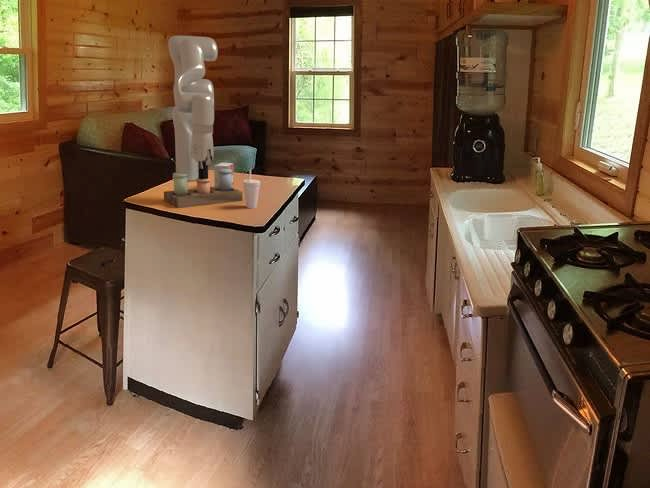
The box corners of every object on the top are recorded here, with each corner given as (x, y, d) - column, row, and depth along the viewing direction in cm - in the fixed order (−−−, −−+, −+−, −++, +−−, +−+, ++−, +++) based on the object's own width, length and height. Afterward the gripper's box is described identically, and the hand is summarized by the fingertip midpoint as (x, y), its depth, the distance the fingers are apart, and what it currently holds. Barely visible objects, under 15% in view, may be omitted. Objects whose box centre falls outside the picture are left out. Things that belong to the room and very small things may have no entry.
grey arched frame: (227, 192, 251) (227, 166, 248) (214, 191, 252) (214, 165, 249) (234, 188, 259) (234, 163, 256) (221, 187, 260) (221, 162, 257)
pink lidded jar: (193, 198, 236) (193, 178, 234) (206, 197, 239) (206, 176, 237) (200, 201, 232) (199, 180, 229) (213, 199, 235) (213, 179, 233)
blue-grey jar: (215, 189, 240) (215, 169, 238) (227, 188, 243) (227, 168, 241) (221, 192, 236) (221, 171, 234) (234, 190, 239) (234, 170, 237)
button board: (164, 200, 233) (163, 191, 232) (226, 193, 248) (226, 185, 247) (178, 208, 223) (178, 198, 222) (242, 200, 238) (242, 191, 237)
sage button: (171, 193, 230) (170, 172, 228) (184, 192, 233) (184, 171, 231) (177, 196, 226) (176, 175, 223) (191, 195, 229) (190, 174, 227)
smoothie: (244, 204, 232) (244, 167, 228) (261, 205, 232) (261, 168, 228) (241, 208, 226) (241, 170, 222) (259, 209, 226) (259, 171, 222)
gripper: (184, 127, 231) (185, 176, 236) (202, 132, 220) (202, 183, 225) (202, 126, 235) (203, 174, 241) (221, 131, 224) (221, 181, 229)
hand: (203, 178), depth 233 cm, fingers closed
